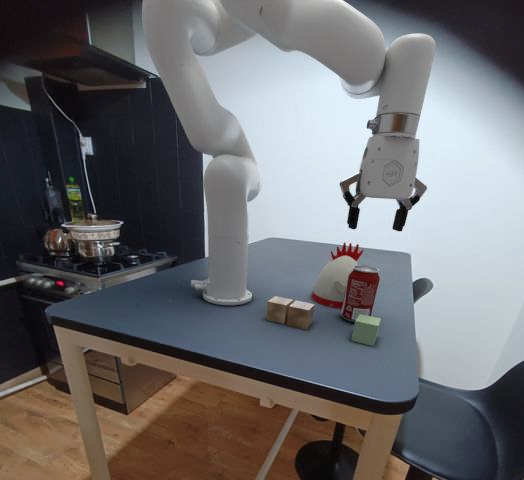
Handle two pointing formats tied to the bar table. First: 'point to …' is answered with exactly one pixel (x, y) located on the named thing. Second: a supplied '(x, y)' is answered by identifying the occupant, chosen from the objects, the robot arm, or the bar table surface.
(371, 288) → the soda can
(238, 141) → the robot arm
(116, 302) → the bar table surface
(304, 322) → the beech block
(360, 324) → the sage block
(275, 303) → the maple block
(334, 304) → the kitchen timer
